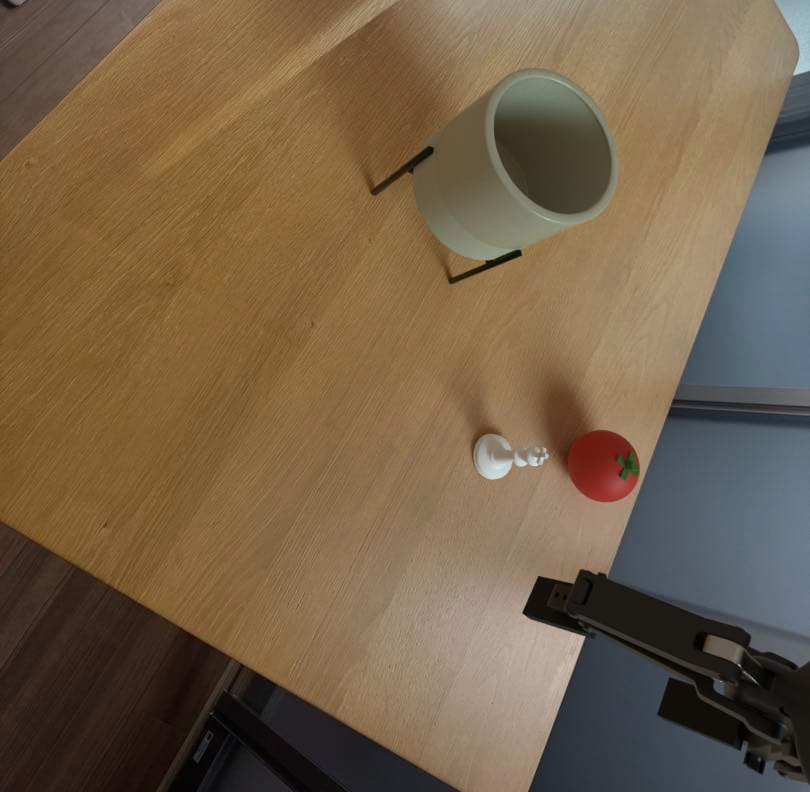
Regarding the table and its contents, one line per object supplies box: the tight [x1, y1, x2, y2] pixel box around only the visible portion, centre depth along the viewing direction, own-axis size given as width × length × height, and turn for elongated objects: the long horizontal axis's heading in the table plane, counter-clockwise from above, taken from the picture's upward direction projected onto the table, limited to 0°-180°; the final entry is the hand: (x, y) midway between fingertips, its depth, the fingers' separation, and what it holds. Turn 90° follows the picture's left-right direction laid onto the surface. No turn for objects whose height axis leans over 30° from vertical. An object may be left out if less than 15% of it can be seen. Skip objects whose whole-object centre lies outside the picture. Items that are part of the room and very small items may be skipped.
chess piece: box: [472, 433, 550, 480], centre depth 77 cm, size 5×5×10 cm
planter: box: [370, 67, 620, 285], centre depth 76 cm, size 15×16×23 cm
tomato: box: [567, 429, 641, 504], centre depth 83 cm, size 8×8×9 cm
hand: (601, 648), depth 51 cm, fingers open, 13 cm apart
